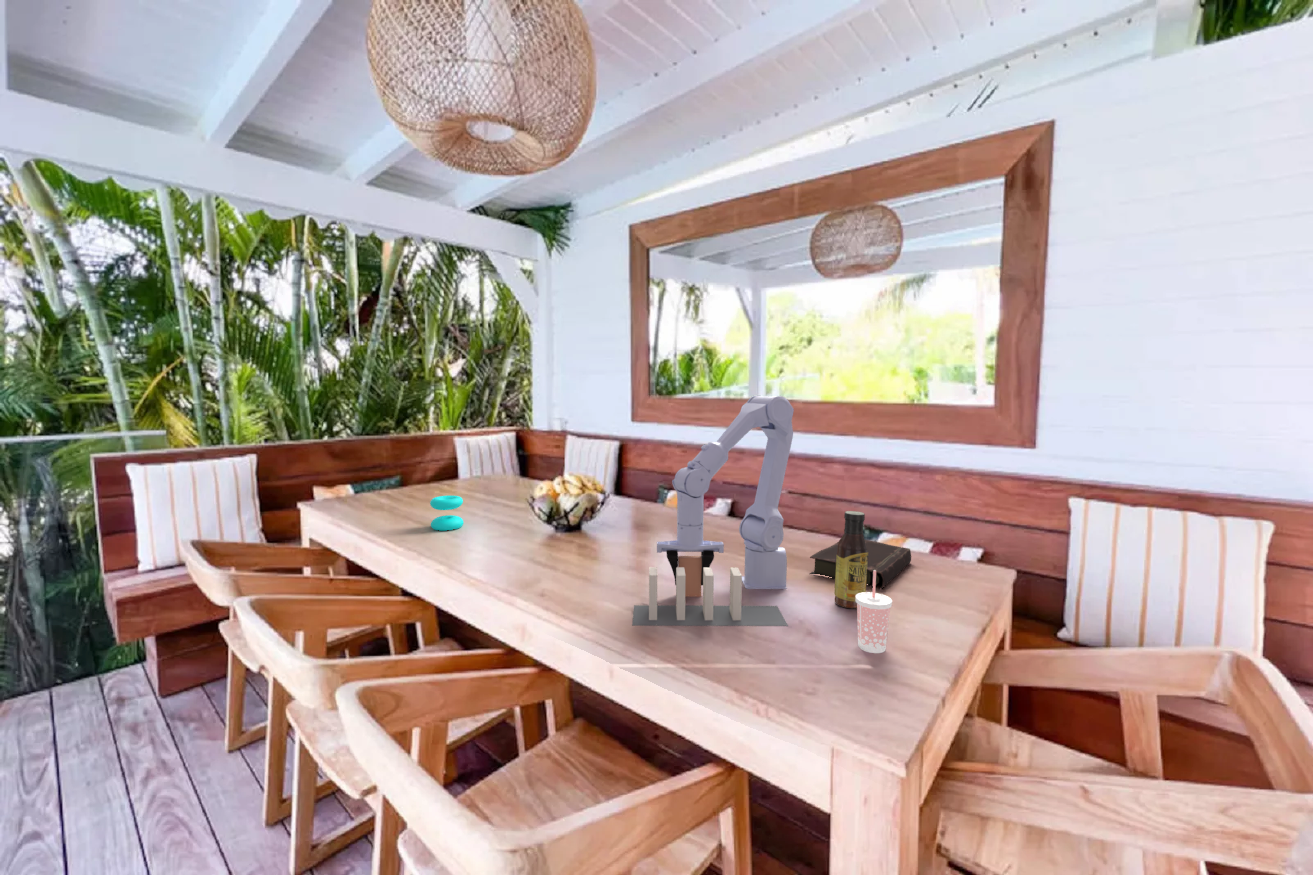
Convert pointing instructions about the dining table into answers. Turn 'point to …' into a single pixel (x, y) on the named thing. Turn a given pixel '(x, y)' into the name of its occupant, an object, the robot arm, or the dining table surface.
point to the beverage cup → (873, 619)
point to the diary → (879, 558)
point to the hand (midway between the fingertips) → (689, 583)
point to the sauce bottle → (851, 561)
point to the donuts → (449, 520)
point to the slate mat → (720, 618)
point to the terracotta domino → (691, 574)
